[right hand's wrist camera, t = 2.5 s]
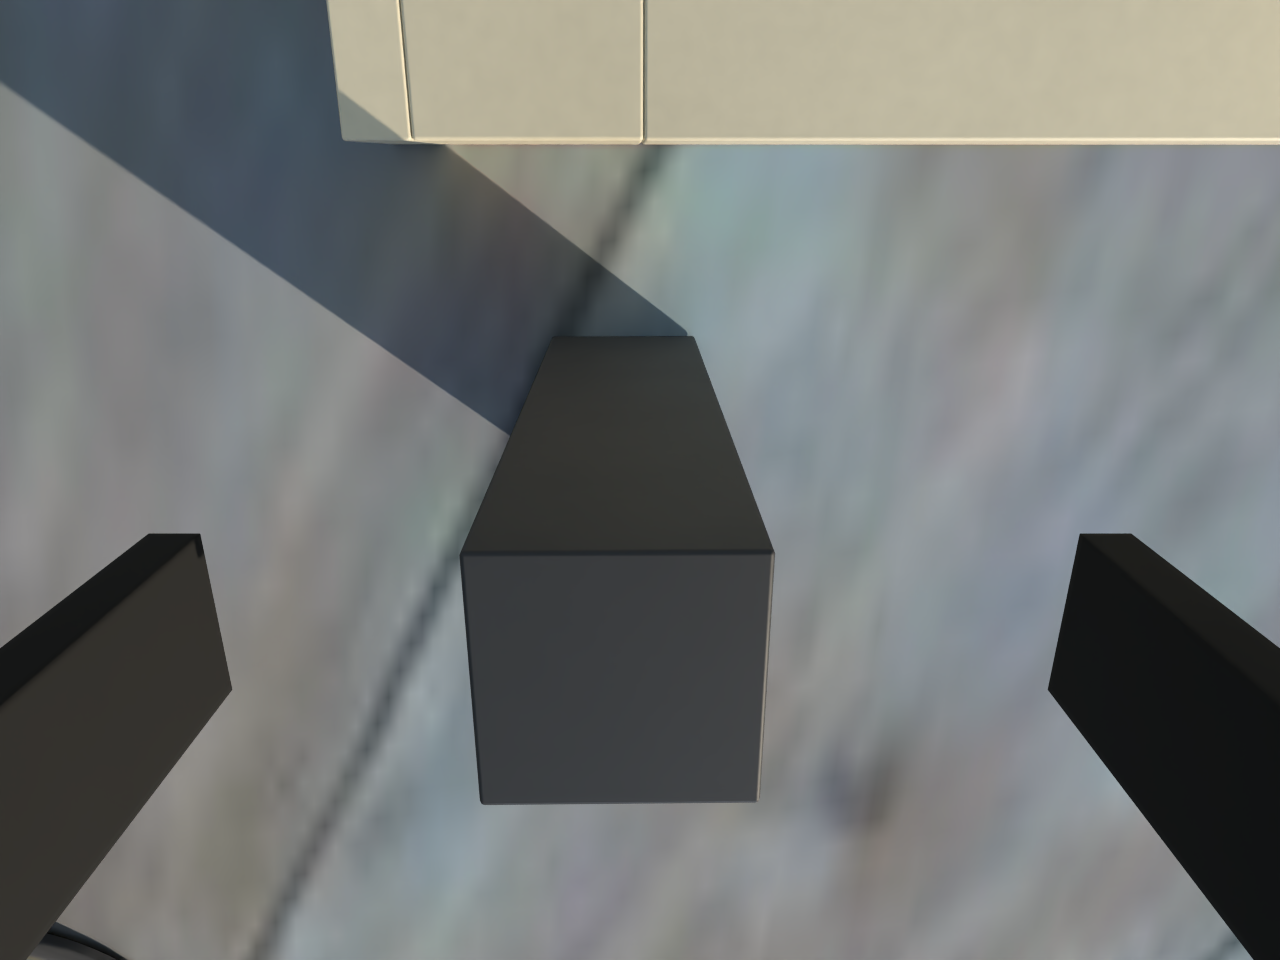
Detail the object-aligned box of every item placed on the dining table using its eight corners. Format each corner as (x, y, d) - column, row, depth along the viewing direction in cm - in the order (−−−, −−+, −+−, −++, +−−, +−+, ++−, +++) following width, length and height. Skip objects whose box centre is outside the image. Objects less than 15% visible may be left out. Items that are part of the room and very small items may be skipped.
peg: (556, 470, 25) (479, 807, 12) (552, 336, 24) (458, 552, 11) (691, 469, 25) (760, 804, 12) (694, 335, 24) (775, 550, 11)
